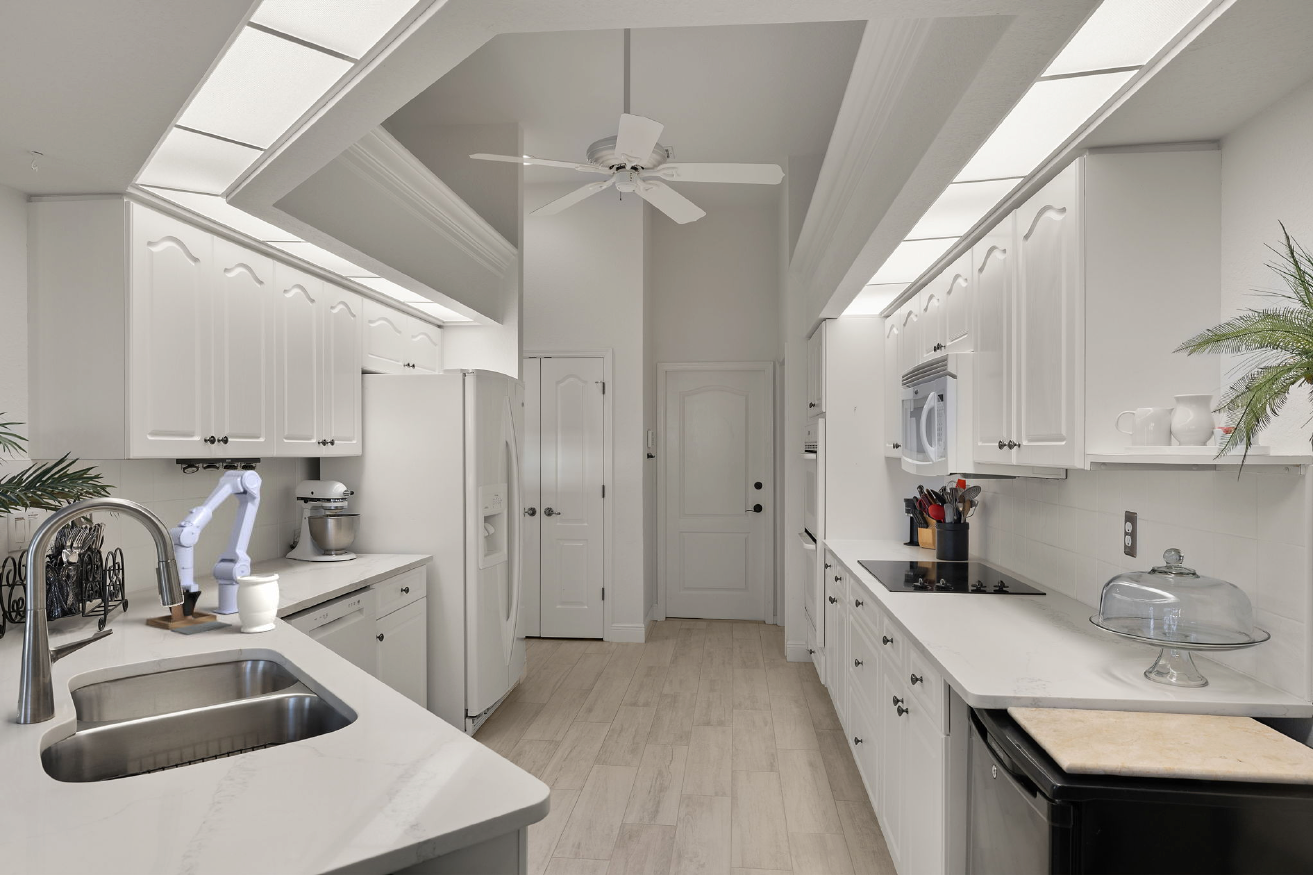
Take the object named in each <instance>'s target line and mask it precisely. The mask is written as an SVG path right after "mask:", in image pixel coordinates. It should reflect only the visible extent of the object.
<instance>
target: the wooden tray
mask: <svg viewBox="0 0 1313 875" xmlns="http://www.w3.org/2000/svg"><path fill="white" fill-rule="evenodd" d="M217 617H218V616H217V614H212V613H208V612H203V611H199V610H198V611H197V610H195V612H193V615H192V619H189V620H184V621H179V622H173V623H172V614H171V613H170V614H165V615H162V616H155V617H150V618H146V619H145V621H146V622H145V623H146V624H145V625H147V626H151V627H154V628H160V629H163V630H168V631H171V629H176V628H181V627H186V626H192V625H197V624H202V623H207V622H212V621H218V619H217Z"/></svg>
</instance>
